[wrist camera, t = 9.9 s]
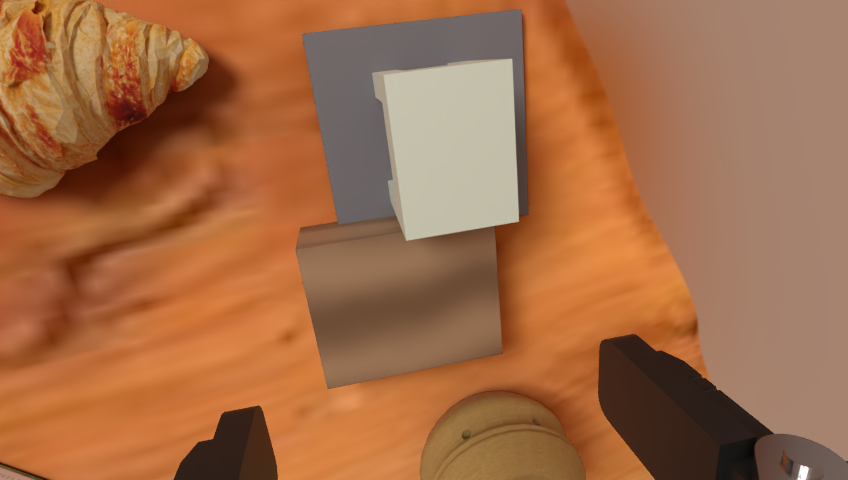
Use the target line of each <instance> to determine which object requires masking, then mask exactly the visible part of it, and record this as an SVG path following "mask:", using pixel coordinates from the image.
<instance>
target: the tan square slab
mask: <svg viewBox="0 0 848 480" xmlns="http://www.w3.org/2000/svg"><path fill="white" fill-rule="evenodd" d="M296 254H297V258H298V263H299V267H300V271H301V276H302V280H303V284H304V289H305V293H306V297H307V302H308V306H309V310H310V315H311V319H312V323H313V328H314V332H315V336H316V340H317V345H318V349H319V353H320V358H321V362H322V366H323V371H324V375H325V379H326V384H327V388H328V389H331V388H336V387H341V386H346V385H351V384H356V383H361V382H365V381H370V380H375V379H380V378H385V377H390V376H395V375H400V374H405V373H410V372H415V371H420V370H424V369H429V368H434V367H439V366H444V365H449V364H454V363H459V362H464V361H469V360H474V359H478V358H483V357H488V356H493V355H498V354H503V352H502V336H501V320H500V304H499V287H498V271H497V255H496V239H495V226H491V227H485V228H479V229H473V230H467V231H461V232H455V233H449V234H443V235H438V236H432V237H426V238H420V239H414V240H408V241H406V239H405V236H404V234H403V231H402V229H401V226H400V224H399V221H398V219H397V216H396V215H394V216H388V217H382V218H376V219H370V220H363V221H357V222H351V223H345V224H339V225H338V222H334V223H328V224H321V225H315V226H309V227H303V228H300V232H299V237H298V241H297V245H296Z"/></svg>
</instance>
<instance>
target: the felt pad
mask: <svg viewBox="0 0 848 480" xmlns="http://www.w3.org/2000/svg"><path fill="white" fill-rule="evenodd" d="M302 36H303V41H304V47H305V52H306V57H307V62H308V68H309V73H310V78H311V83H312V89H313V94H314V99H315V104H316V110H317V115H318V120H319V125H320V131H321V136H322V141H323V146H324V151H325V157H326V162H327V167H328V172H329V178H330V183H331V188H332V193H333V199H334V204H335V209H336V214H337V220H338V225H339V224H345V223H351V222H357V221H363V220H370V219H376V218H382V217H388V216H394V215H396V214H395V211H394V209H393V206H392V204H391V200H390V193H389V186H388V181H389V180H393V176H392V169H391V162H390V155H389V148H388V141H387V134H386V126H385V119H384V112H383V105H382V102H381V101H380V100H378V99H377V98H376V97H375V90H374V83H373V76H372V73H374V72H382V71H390V70H413V69H421V68H429V67H437V66H445V65H447V63H454V62H462V61H471V60H494V59H512V64H513V88H514V112H515V136H516V160H517V184H518V208H519V216H522V215H528V186H527V156H526V126H525V96H524V66H523V36H522V9H518V10H509V11H501V12H492V13H483V14H474V15H465V16H456V17H447V18H438V19H429V20H421V21H412V22H403V23H394V24H385V25H376V26H367V27H358V28H349V29H341V30H332V31H323V32H314V33H305V34H302Z"/></svg>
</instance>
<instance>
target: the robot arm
mask: <svg viewBox="0 0 848 480" xmlns="http://www.w3.org/2000/svg"><path fill="white" fill-rule="evenodd" d="M598 396H599V402H600V405H601V408H602V411H603V413H604V415H605V417H606V418H607V420H608V421H609V422H610V424H611V425H612V426H613V427H614V429H615V430H616V431H617V432H618V434H619V435H620V436H621V437H622V439H623V440H624V441H625V442H626V444H627V445H628V446H629V447H630V449H631V450H632V451H633V452H634V454H635V455H636V456H637V457H638V459H639V460H640V461H641V462H642V464H643V465H644V466H645V467H646V469H647V470H648V471H649V472H650V474H651V475H652V476H653V477H654V479H655V480H848V461H845V460H843V459H842V458H841V457H840V456H839V455H837V454H836V453H835V452H833V451H832V450H830V449H829V448H827V447H825V446H823V445H821V444H819V443H817V442H814V441H812V440H809V439H806V438H803V437H799V436H795V435H789V434H774V433H773V432H771V431H770V430H769V429H768V428H766V427H765V426H764V425H763V424H761V423H760V422H759V421H758V420H756V419H755V418H754V417H753V416H752V415H750V414H749V413H748V412H747V411H745V410H744V409H743V408H741V407H740V406H739V405H738V404H737V403H735V402H734V401H733V400H732V399H730V398H729V397H728V396H726V395H725V394H724V393H723V392H722V391H720V390H717V389H716V386H714V385H713V384H712V383H711V382H709V381H708V380H707V379H706V378H702V376H701V374H699V373H698V372H697V371H696V370H694V369H693V368H692V367H691V366H689V365H688V364H687V363H686V362H685V361H683V360H681V359H678V358H676V357H674V356H672V355H670V354H668V353H665V352H663V351H655V350H654V349H653V348H652V347H650V346H649V345H648V344H647V343H646V342H645V341H643V340H642V339H641V338H640V337H638V336H637V335H635V334H631V335H626V336H620V337H615V338H610V339H605V340H603V341H602V342H601V344H600V350H599V382H598ZM174 480H278V475H277V465H276V460H275V455H274V452H273V448H272V444H271V440H270V437H269V433H268V429H267V425H266V421H265V418H264V414H263V411H262V409H261V407H260V406H254V407H249V408H243V409H238V410H233V411H228V412H224V413H223V414H222V415H221V418H220V420H219V423H218V426H217V429H216V432H215V435H214V438H213V439H211V440H206V441H202V442H198V443H197V444H196V446H195V447H194V448H193V449H192V450H191V451H190V453H189V454H188V455H187V456H186V457H185V458H184V459H183V461H182V462H181V463H180V465H179V468H178V470H177V473H176V475H175V478H174Z"/></svg>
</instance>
